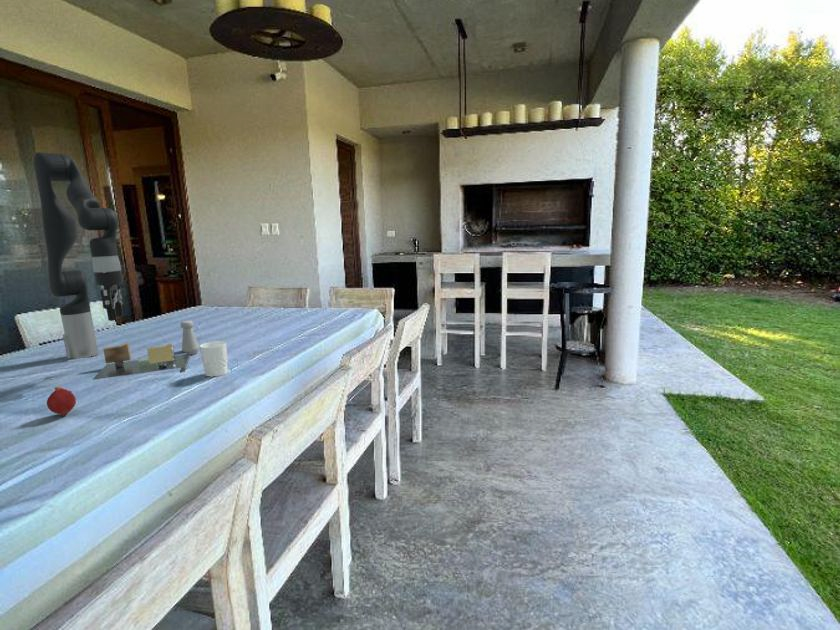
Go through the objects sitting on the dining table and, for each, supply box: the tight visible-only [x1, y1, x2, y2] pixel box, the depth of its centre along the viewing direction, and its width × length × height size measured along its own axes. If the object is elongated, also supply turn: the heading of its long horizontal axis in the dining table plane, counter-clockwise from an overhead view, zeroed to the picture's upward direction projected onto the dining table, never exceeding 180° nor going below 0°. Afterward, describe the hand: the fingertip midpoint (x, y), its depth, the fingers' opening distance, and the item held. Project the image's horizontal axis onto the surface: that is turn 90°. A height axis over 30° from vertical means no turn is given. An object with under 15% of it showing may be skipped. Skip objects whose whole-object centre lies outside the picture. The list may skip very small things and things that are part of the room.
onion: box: [46, 386, 77, 417], centre depth 115 cm, size 6×6×8 cm
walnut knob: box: [102, 343, 132, 367], centre depth 151 cm, size 7×2×7 cm, turn 112°
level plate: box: [91, 346, 191, 380], centre depth 152 cm, size 26×18×6 cm
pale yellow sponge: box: [146, 343, 174, 367], centre depth 149 cm, size 7×2×7 cm, turn 112°
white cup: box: [198, 340, 229, 378], centre depth 144 cm, size 8×8×10 cm
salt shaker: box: [180, 320, 200, 356], centre depth 169 cm, size 6×6×13 cm
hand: (116, 318), depth 149 cm, fingers open, 8 cm apart
